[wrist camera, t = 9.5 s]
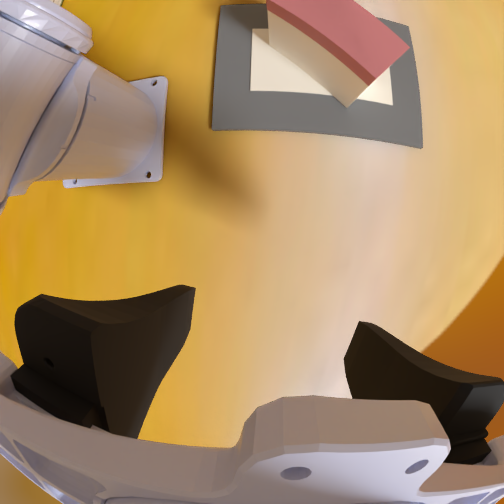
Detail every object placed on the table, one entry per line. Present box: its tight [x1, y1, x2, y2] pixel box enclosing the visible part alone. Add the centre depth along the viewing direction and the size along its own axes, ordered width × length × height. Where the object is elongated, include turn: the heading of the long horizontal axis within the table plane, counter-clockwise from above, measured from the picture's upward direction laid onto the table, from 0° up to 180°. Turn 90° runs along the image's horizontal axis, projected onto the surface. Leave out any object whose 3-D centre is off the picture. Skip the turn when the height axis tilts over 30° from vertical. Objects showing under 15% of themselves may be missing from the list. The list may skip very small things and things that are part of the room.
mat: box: [212, 4, 423, 149], centre depth 16 cm, size 15×11×1 cm
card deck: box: [266, 0, 410, 108], centre depth 12 cm, size 3×7×6 cm, turn 47°
